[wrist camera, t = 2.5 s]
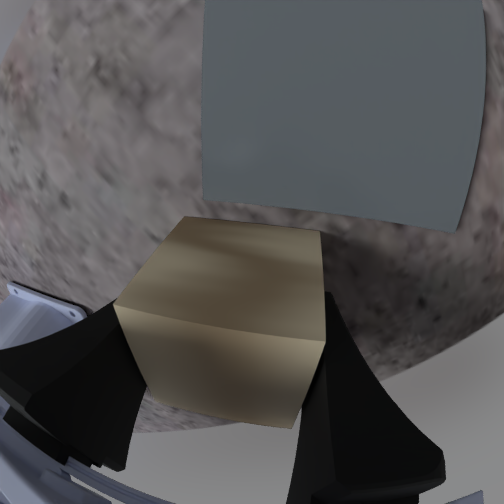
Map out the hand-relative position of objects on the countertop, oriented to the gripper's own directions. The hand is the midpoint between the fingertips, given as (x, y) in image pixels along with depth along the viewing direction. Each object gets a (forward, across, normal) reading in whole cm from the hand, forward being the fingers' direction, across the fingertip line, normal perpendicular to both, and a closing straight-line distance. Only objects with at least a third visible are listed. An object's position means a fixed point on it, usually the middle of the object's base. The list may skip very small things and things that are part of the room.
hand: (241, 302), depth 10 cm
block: (+1, 0, 0) cm, 1 cm away
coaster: (+1, -3, -8) cm, 9 cm away
